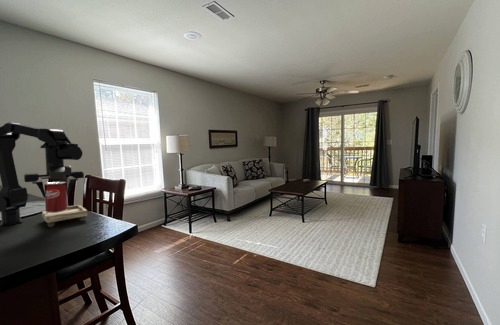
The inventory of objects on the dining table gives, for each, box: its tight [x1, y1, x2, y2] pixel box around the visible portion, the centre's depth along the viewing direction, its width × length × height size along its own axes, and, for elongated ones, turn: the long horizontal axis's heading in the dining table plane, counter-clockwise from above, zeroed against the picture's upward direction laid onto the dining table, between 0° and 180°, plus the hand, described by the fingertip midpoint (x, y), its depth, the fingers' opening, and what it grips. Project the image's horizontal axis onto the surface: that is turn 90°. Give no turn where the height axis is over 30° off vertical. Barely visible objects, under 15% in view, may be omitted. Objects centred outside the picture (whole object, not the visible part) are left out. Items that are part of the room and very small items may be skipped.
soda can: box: [43, 181, 69, 213], centre depth 98 cm, size 7×7×12 cm
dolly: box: [41, 204, 88, 228], centre depth 105 cm, size 14×14×5 cm
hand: (56, 196), depth 98 cm, fingers closed on soda can, 7 cm apart
